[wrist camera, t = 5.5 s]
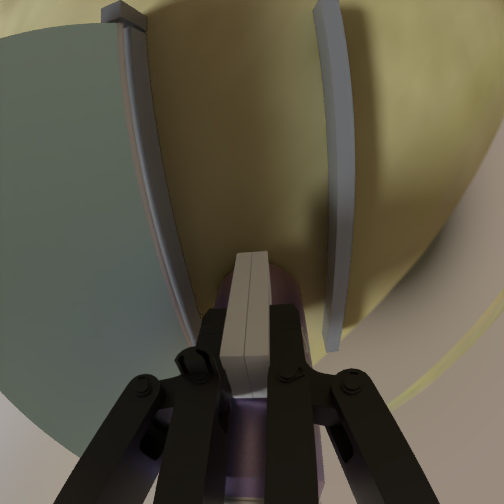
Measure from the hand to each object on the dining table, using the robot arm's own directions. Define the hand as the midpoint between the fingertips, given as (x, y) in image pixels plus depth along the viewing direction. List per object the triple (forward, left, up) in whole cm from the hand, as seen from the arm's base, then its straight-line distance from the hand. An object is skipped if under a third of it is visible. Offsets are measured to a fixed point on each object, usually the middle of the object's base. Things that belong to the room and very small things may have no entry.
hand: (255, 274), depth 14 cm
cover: (-3, -8, +4) cm, 10 cm away
